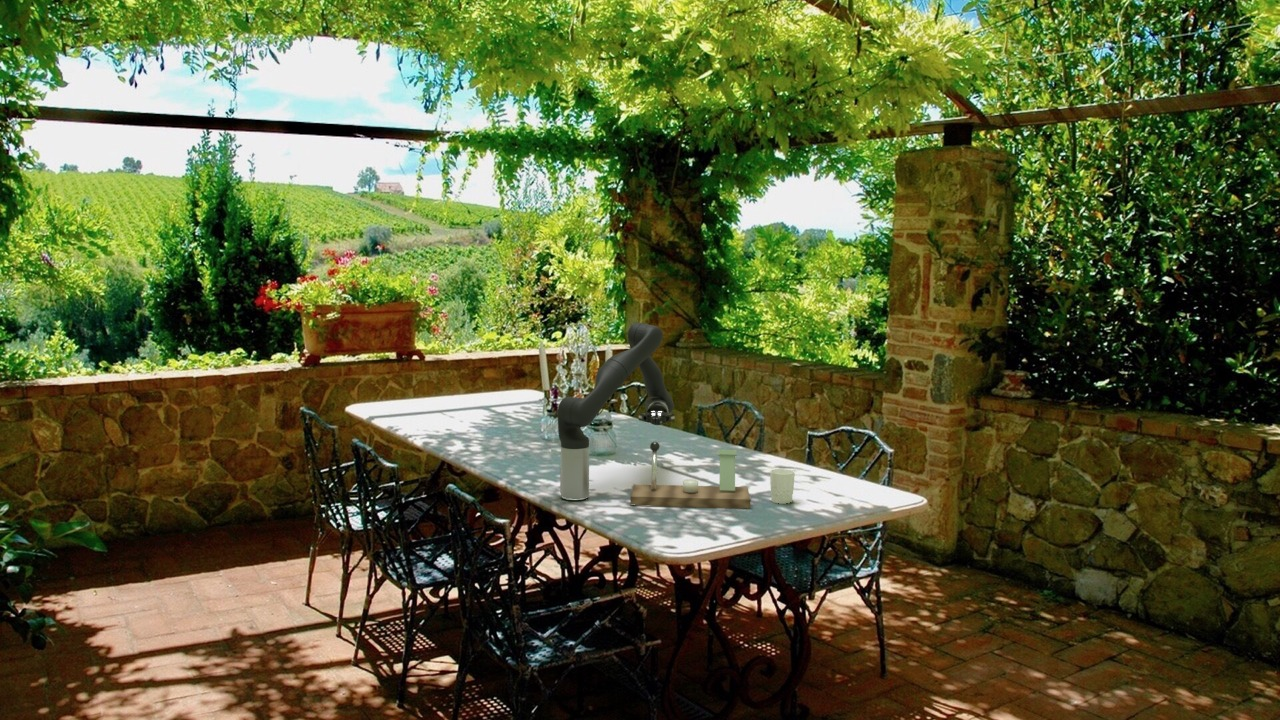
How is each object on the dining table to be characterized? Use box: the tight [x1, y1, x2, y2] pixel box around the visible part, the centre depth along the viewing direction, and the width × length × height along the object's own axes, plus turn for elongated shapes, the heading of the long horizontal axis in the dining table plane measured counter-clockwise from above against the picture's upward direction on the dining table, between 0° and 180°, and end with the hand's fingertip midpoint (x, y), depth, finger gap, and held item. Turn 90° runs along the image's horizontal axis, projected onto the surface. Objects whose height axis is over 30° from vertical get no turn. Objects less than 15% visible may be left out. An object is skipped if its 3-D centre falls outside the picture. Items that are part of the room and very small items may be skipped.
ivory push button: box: [682, 479, 699, 493], centre depth 314 cm, size 5×5×3 cm
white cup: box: [769, 468, 796, 505], centre depth 314 cm, size 8×8×10 cm
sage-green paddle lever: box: [717, 449, 738, 491], centre depth 316 cm, size 6×2×13 cm, turn 87°
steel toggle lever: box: [649, 441, 661, 489], centre depth 317 cm, size 3×3×16 cm
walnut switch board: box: [630, 483, 751, 510], centre depth 314 cm, size 38×16×3 cm, turn 87°
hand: (655, 421), depth 323 cm, fingers closed
